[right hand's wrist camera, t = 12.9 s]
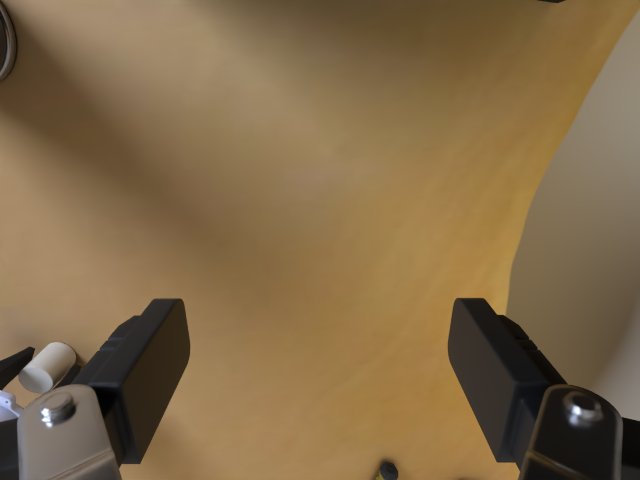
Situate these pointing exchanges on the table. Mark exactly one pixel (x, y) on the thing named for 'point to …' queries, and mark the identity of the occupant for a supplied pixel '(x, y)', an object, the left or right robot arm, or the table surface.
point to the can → (47, 367)
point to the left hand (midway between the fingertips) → (53, 362)
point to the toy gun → (387, 472)
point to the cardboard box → (555, 0)
